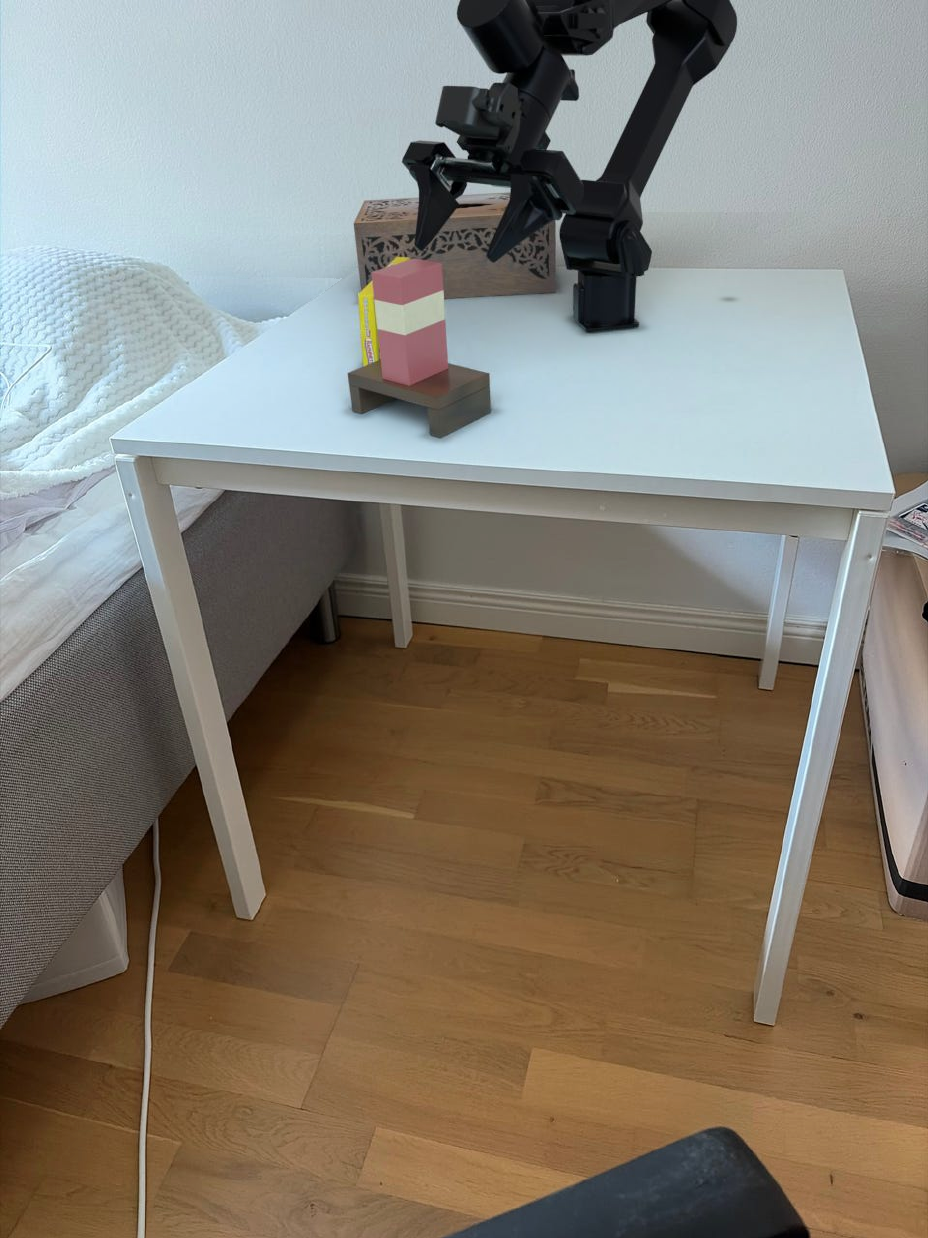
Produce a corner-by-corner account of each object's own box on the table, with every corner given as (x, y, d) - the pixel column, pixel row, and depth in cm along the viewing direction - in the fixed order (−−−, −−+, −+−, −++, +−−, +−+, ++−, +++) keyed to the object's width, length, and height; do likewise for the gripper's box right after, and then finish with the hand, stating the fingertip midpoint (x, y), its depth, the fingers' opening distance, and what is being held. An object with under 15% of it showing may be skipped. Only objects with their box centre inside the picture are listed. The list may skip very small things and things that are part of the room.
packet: (421, 361, 96) (413, 257, 90) (449, 368, 94) (442, 262, 88) (382, 378, 92) (370, 272, 87) (409, 386, 90) (399, 277, 85)
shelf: (403, 388, 101) (399, 350, 99) (491, 412, 94) (489, 372, 92) (352, 411, 96) (347, 372, 94) (440, 438, 90) (437, 397, 87)
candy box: (381, 370, 106) (372, 294, 101) (362, 370, 106) (353, 294, 102) (416, 324, 119) (410, 255, 114) (399, 324, 119) (393, 255, 115)
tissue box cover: (548, 264, 139) (548, 189, 133) (555, 292, 127) (555, 211, 121) (372, 273, 140) (364, 200, 134) (362, 302, 128) (353, 223, 122)
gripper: (407, 45, 91) (335, 192, 90) (567, 45, 80) (487, 210, 80) (465, 127, 100) (400, 260, 99) (616, 136, 89) (544, 285, 89)
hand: (452, 253), depth 92 cm, fingers open, 9 cm apart
